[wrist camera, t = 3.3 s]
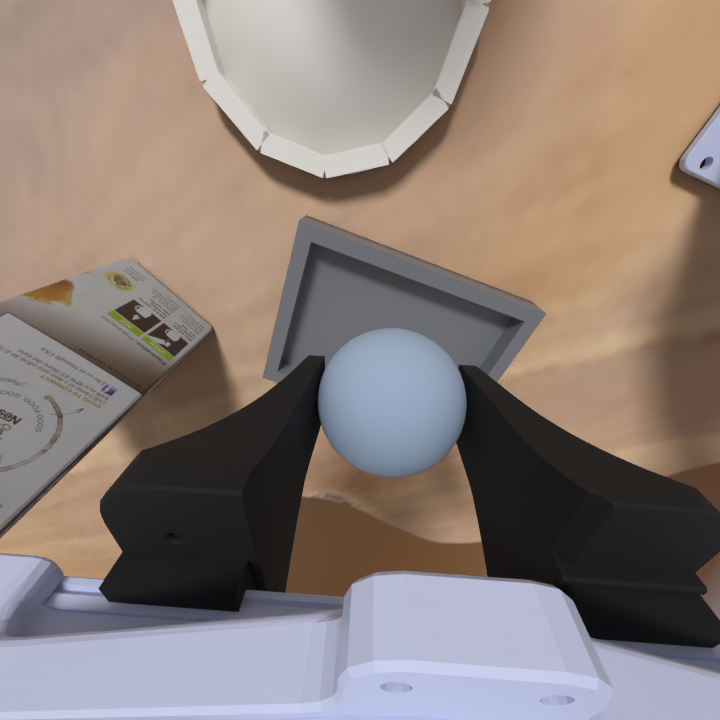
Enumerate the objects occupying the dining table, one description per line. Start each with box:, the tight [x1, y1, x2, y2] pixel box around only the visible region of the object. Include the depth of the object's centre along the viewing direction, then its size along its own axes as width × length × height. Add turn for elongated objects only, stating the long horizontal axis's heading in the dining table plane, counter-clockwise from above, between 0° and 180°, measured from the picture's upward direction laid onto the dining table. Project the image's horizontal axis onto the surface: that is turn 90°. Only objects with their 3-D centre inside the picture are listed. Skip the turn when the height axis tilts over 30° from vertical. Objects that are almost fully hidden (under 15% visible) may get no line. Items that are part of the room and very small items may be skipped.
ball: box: [318, 328, 467, 478], centre depth 11 cm, size 5×5×5 cm
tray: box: [263, 215, 546, 382], centre depth 20 cm, size 14×10×2 cm
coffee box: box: [0, 258, 212, 538], centre depth 14 cm, size 9×6×16 cm
